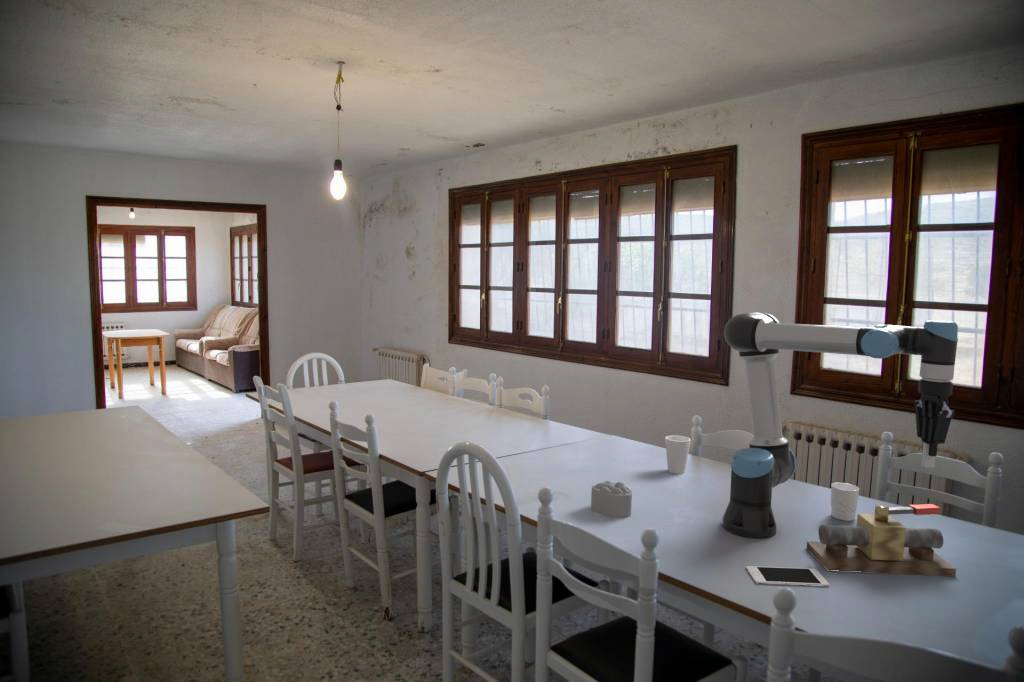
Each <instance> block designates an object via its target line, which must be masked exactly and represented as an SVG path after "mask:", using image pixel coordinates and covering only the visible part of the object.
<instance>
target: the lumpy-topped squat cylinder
mask: <svg viewBox="0 0 1024 682" xmlns="http://www.w3.org/2000/svg"><path fill="white" fill-rule="evenodd" d="M590 495H591V497H590V499H591V502H590V509H591V510H592V511H593V512H595V513H597V514H600V515H601V516H605V517H609V518H617V519H618V518H619V519H622V518H623V519H624V518H629V517H631V516H632V505H633V504H632V501H633V500H632V499H633V492H632V490H631V489H630V488H629V487H627V486H626V485H625V484H624V483H623V482H622V481H617V482H616V483H615V482H612V481H610V480H605V481H603V482H600V483H597V484H594V485H592V486H591V493H590Z"/></svg>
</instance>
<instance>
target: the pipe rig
mask: <svg viewBox="0 0 1024 682" xmlns="http://www.w3.org/2000/svg"><path fill="white" fill-rule="evenodd" d="M874 516H875V513H857V518H856V525H840V524H839V525H837V524H836V525H833V524H832V525H831V524H830V525H829V524H821V525H819V527H818V538H819V541H806V549H807V550H808V551H809V553H810V554H811V553H812V554H813V555H814V556H815V557H816V558H817V559H818V560H819V561H820V562H821V563H822V564H823V565H824V566H825V567H826V568H827V569H828V570H839V571H861V572H874V573H873V574H885V573H888V575H890V574H891V575H918V576H944V577H956V576H957V575H956V574H957V568H956V567H955V566H953V565H952V564H950V563H949V562H947V561H946V559H944V558H942V557H941V556H940V555H938V554H937V553H935V549H941V548H942V547H943V546H944V536H943V534H942V532H941V530H940V529H938V528H924V527H923V528H920V527H905V525H903V524H902V523H900V522H899V521H897V520H896V519H894V517H892V516H891V515H889V516H888V521H887V522H883V521H878V520H876V519H875V518H874ZM812 554H811V555H812ZM813 555H812V556H813ZM814 556H813V557H814ZM815 557H814V558H815ZM816 558H815V559H816ZM817 559H816V560H817ZM818 560H817V561H818ZM819 561H818V562H819ZM820 562H819V563H820ZM821 563H820V564H821ZM822 564H821V565H822ZM823 565H822V566H823ZM824 566H823V567H824Z"/></svg>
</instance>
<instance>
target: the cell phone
mask: <svg viewBox="0 0 1024 682" xmlns="http://www.w3.org/2000/svg"><path fill="white" fill-rule="evenodd" d="M746 568H747V569H748V570H749V572H750V574H751V575H752V577H753V578H754V580H755V581H756V582H770V583H782V582H783V583H785V584H787V583H789V584H807V585H823V586H829V587H830V583H829V582H828V581H827V580H826V578H825V577H824V576H823V575H822V574H821V573H820V571H819V570H817V569H816V568H809V567H808V568H807V567H806V568H805V567H781V566H757V565H746V566H745V569H746ZM747 569H746V570H747ZM750 574H749V575H750ZM752 577H751V578H752ZM754 580H753V581H754ZM779 581H780V582H779Z"/></svg>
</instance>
